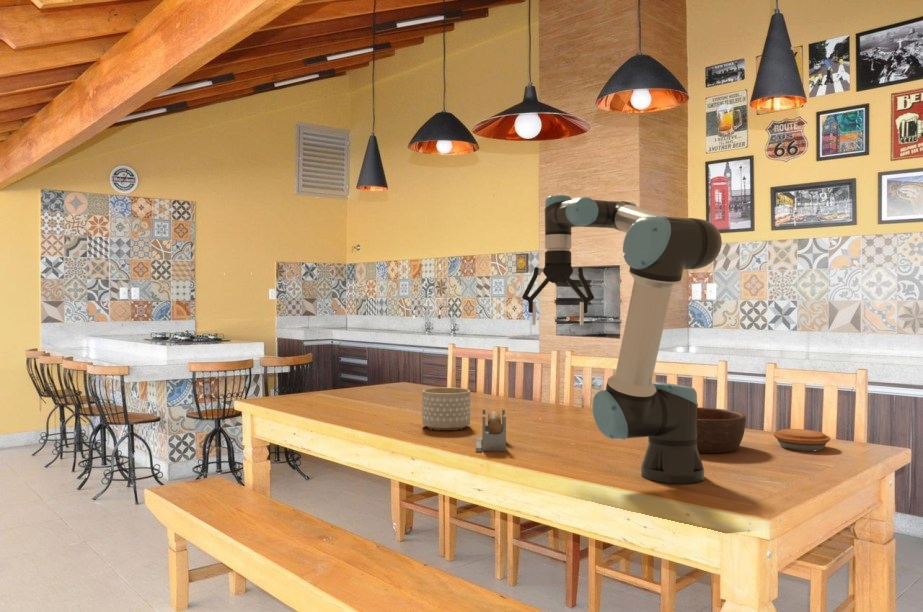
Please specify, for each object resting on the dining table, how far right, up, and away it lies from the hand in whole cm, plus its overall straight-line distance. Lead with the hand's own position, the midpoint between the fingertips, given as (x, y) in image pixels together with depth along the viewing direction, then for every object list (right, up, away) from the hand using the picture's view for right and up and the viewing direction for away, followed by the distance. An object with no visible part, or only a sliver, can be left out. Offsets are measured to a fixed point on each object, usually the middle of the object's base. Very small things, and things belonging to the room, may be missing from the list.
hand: (557, 324), depth 206 cm
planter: (-33, -36, +41) cm, 64 cm away
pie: (+74, -37, +10) cm, 84 cm away
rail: (-19, -31, +11) cm, 38 cm away
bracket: (-18, -37, +11) cm, 42 cm away
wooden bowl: (+44, -37, +10) cm, 59 cm away
